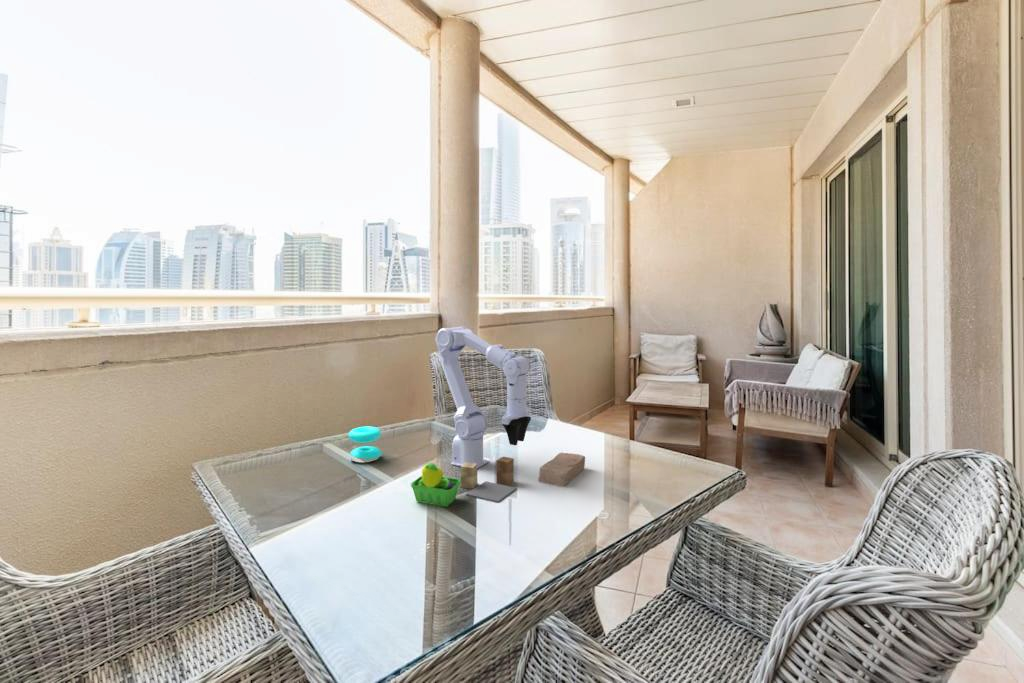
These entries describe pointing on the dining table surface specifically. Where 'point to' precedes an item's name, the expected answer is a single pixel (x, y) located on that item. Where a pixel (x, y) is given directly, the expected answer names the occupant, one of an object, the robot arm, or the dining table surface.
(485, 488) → the mat
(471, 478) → the oak block
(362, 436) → the donuts
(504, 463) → the walnut block
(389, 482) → the dining table surface
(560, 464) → the brick
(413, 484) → the fruit basket
